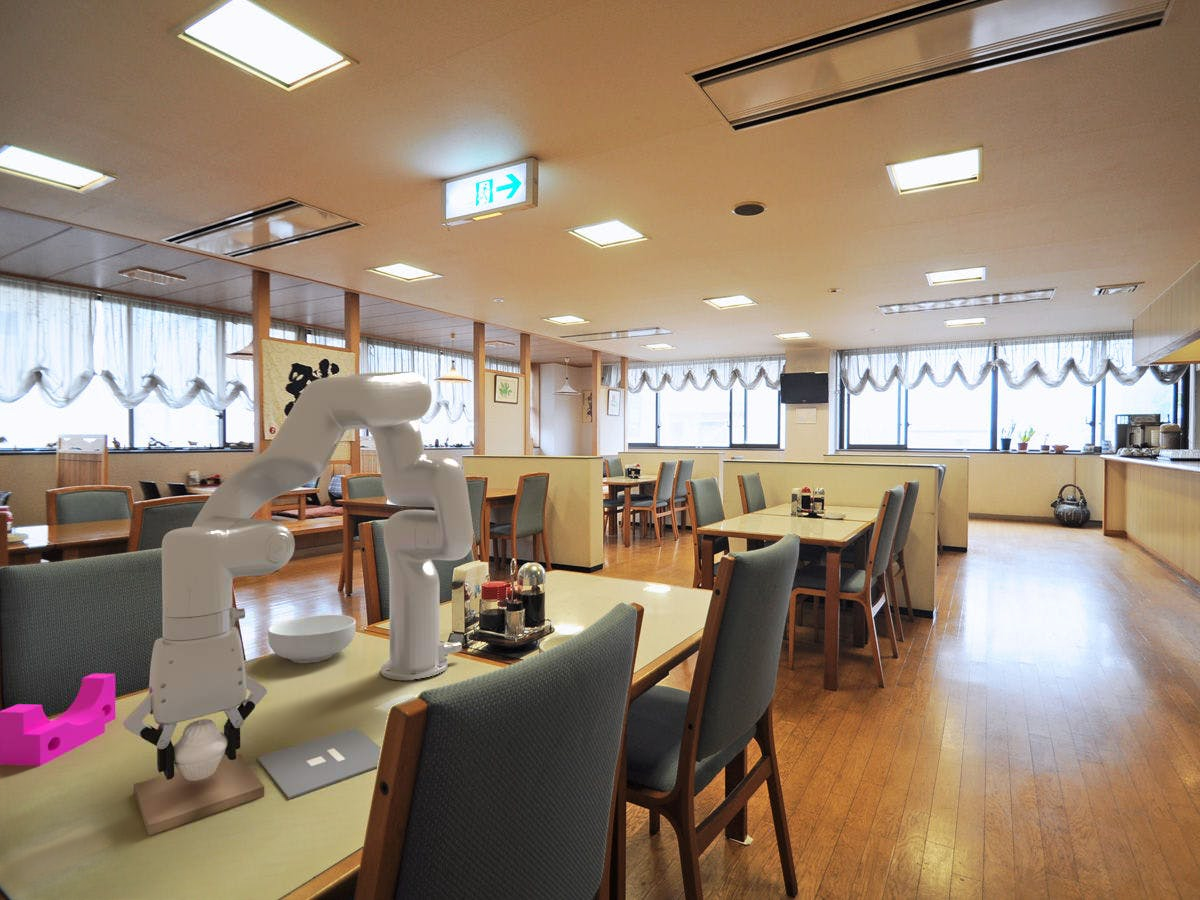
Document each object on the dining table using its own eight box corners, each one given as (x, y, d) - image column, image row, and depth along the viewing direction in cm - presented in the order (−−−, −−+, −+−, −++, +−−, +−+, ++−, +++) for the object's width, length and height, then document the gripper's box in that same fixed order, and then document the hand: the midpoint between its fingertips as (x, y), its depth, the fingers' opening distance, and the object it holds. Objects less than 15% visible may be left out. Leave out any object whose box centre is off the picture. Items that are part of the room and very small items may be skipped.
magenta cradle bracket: (40, 767, 88) (39, 713, 88) (-1, 765, 88) (-2, 711, 88) (129, 720, 103) (129, 674, 103) (94, 719, 103) (93, 673, 103)
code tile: (355, 728, 99) (355, 726, 99) (395, 761, 89) (395, 759, 89) (257, 759, 89) (257, 756, 89) (288, 799, 79) (288, 796, 79)
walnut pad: (239, 761, 89) (239, 752, 89) (264, 795, 80) (264, 786, 80) (133, 793, 81) (133, 784, 81) (148, 835, 72) (148, 825, 72)
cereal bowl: (372, 649, 138) (372, 616, 138) (315, 675, 122) (315, 638, 122) (311, 641, 144) (310, 610, 144) (248, 665, 128) (248, 630, 128)
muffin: (159, 783, 78) (158, 727, 78) (202, 759, 84) (202, 707, 84) (197, 790, 77) (197, 733, 77) (239, 766, 82) (239, 712, 82)
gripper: (264, 606, 89) (265, 734, 89) (109, 632, 77) (111, 779, 77) (280, 617, 83) (282, 753, 84) (116, 646, 72) (119, 804, 72)
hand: (200, 764), depth 80 cm, fingers closed on muffin, 6 cm apart
